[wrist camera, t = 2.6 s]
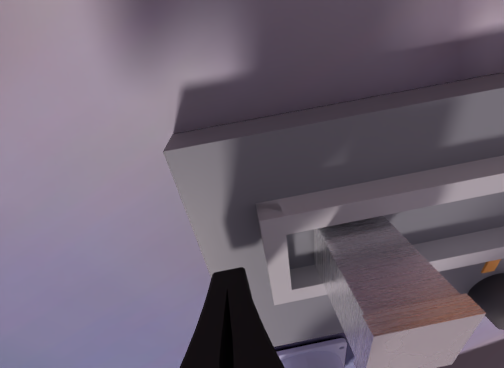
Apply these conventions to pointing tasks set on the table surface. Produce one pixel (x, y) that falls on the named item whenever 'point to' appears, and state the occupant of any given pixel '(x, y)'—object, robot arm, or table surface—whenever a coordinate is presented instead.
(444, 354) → the fader tab
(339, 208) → the console board
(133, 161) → the table surface
